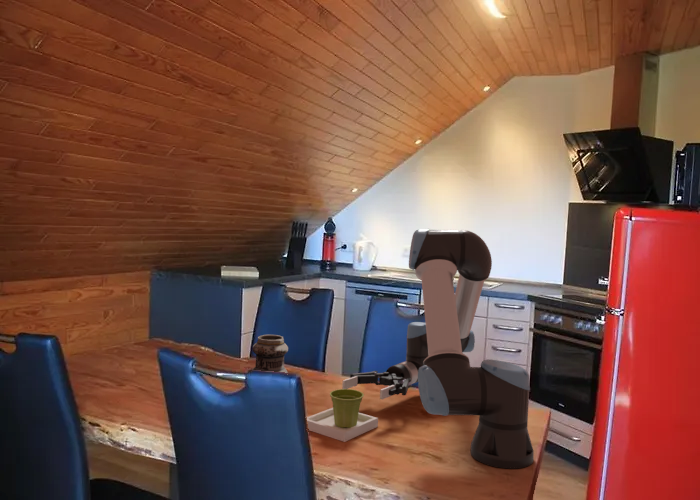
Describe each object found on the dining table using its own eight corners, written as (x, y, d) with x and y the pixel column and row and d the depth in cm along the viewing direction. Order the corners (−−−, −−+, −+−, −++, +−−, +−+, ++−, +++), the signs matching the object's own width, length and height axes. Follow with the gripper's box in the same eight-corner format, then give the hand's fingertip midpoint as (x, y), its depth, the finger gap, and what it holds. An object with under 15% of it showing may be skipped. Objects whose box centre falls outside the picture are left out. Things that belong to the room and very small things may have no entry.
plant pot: (369, 424, 161) (370, 394, 161) (347, 433, 154) (348, 401, 154) (344, 416, 167) (345, 386, 167) (321, 424, 160) (322, 393, 160)
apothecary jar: (276, 397, 187) (277, 342, 186) (243, 392, 191) (244, 338, 190) (293, 387, 198) (294, 335, 197) (262, 383, 202) (263, 332, 201)
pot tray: (377, 426, 163) (378, 417, 163) (344, 441, 151) (344, 432, 151) (336, 414, 172) (336, 406, 172) (301, 427, 160) (302, 419, 160)
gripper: (435, 395, 178) (397, 412, 161) (369, 379, 193) (328, 393, 176) (436, 371, 178) (398, 385, 161) (369, 357, 193) (329, 369, 176)
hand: (361, 389), depth 169 cm, fingers open, 13 cm apart
